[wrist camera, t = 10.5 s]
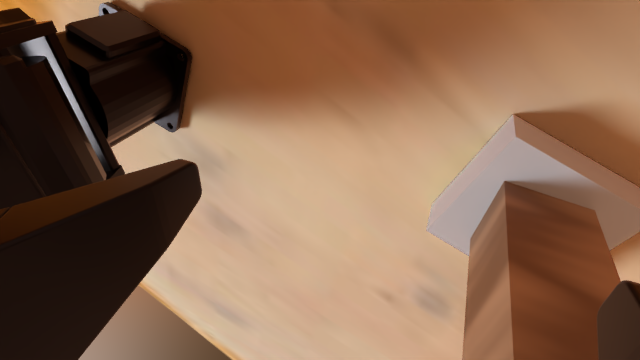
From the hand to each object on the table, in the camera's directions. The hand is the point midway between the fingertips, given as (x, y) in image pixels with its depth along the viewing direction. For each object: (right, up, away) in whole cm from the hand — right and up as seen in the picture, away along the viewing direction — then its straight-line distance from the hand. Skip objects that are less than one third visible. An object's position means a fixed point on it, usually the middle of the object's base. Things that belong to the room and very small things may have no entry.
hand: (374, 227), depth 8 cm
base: (+10, 0, +12) cm, 16 cm away
